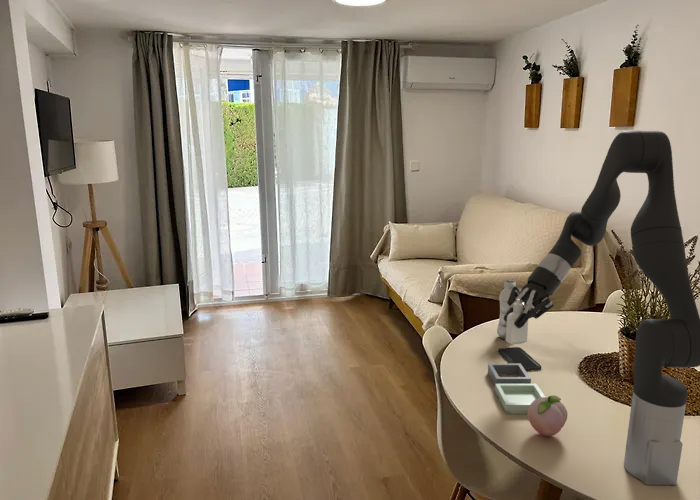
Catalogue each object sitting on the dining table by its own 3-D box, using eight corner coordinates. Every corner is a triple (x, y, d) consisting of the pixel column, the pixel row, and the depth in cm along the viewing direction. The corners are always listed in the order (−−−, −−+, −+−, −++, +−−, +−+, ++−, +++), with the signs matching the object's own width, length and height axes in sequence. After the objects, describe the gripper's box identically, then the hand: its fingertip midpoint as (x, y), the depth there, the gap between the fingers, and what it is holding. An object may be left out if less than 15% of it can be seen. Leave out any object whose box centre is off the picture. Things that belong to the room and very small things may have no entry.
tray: (550, 413, 129) (550, 404, 129) (506, 413, 130) (506, 404, 129) (535, 391, 140) (536, 383, 139) (494, 392, 140) (495, 383, 140)
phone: (519, 346, 167) (542, 367, 153) (519, 350, 167) (542, 370, 153) (496, 348, 166) (517, 369, 152) (496, 351, 166) (517, 372, 152)
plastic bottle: (496, 340, 174) (499, 283, 169) (496, 333, 180) (500, 278, 175) (516, 342, 172) (520, 285, 167) (516, 335, 178) (520, 279, 174)
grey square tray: (530, 388, 142) (531, 378, 141) (495, 388, 142) (496, 378, 141) (519, 372, 151) (520, 363, 150) (487, 372, 151) (488, 363, 150)
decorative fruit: (534, 420, 127) (537, 382, 124) (569, 432, 122) (573, 393, 119) (519, 437, 120) (522, 398, 117) (555, 451, 115) (559, 410, 112)
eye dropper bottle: (528, 345, 136) (530, 302, 134) (506, 344, 137) (508, 301, 135) (526, 339, 141) (528, 297, 138) (504, 338, 142) (506, 296, 139)
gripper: (523, 260, 144) (486, 308, 142) (563, 271, 131) (523, 324, 129) (536, 276, 147) (500, 323, 145) (576, 289, 135) (537, 340, 132)
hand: (511, 323), depth 137 cm, fingers closed on eye dropper bottle, 3 cm apart
